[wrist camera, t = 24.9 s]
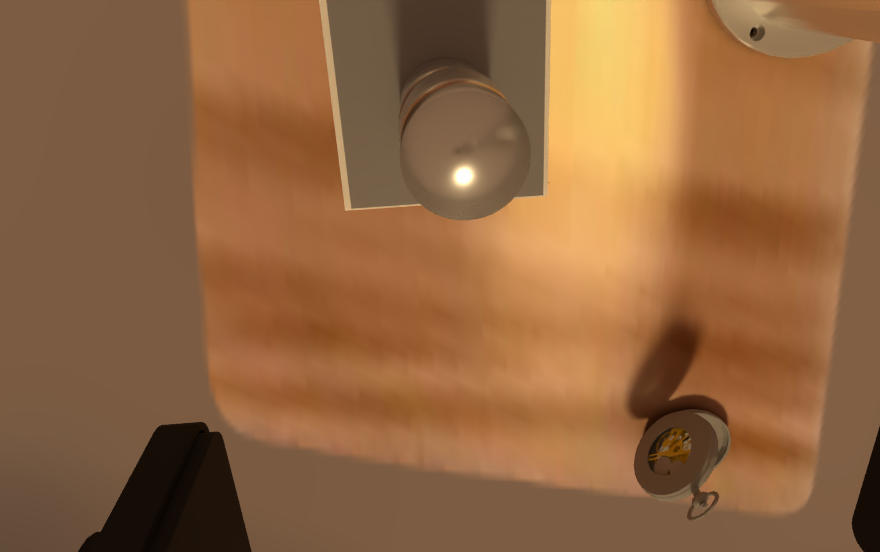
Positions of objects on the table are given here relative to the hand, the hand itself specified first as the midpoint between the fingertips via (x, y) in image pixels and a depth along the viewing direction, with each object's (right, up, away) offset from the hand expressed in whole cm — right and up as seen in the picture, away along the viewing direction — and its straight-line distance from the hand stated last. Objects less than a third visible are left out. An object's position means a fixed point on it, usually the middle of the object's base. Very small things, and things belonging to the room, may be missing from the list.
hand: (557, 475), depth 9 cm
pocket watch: (+17, -9, +41) cm, 46 cm away
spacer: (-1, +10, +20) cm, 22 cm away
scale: (-2, +16, +28) cm, 32 cm away
